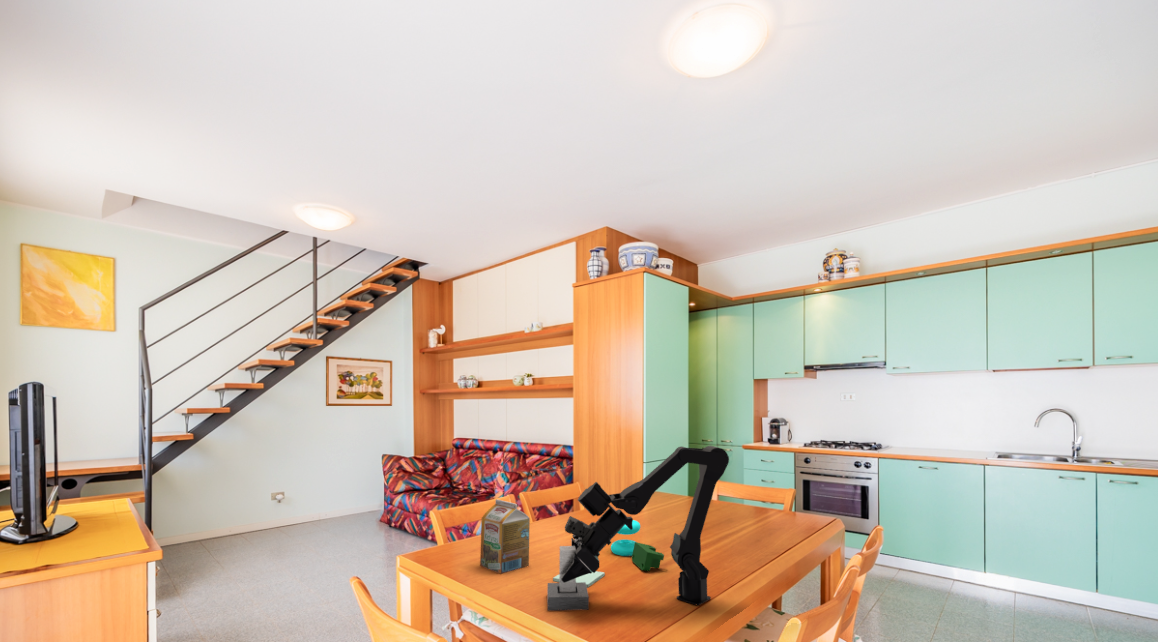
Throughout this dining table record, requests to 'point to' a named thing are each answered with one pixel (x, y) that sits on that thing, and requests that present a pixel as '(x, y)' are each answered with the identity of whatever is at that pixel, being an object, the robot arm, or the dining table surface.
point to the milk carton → (504, 538)
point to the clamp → (646, 556)
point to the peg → (565, 563)
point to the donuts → (625, 541)
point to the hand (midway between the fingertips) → (562, 574)
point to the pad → (586, 578)
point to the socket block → (567, 598)
